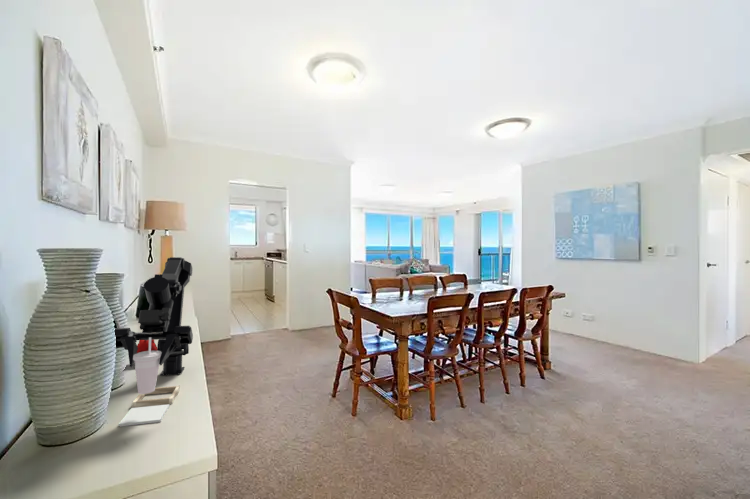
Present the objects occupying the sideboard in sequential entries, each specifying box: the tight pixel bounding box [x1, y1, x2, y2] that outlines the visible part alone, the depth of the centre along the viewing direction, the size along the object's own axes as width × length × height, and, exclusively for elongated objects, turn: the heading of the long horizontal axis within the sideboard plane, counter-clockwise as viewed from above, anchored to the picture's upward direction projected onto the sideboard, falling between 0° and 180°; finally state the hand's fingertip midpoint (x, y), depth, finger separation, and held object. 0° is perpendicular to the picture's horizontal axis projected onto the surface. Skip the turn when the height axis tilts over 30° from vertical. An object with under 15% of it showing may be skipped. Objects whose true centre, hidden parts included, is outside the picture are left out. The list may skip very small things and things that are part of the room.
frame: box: [131, 385, 181, 408], centre depth 100 cm, size 10×10×2 cm
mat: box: [117, 404, 171, 427], centre depth 89 cm, size 9×9×1 cm
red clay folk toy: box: [137, 340, 158, 353], centre depth 131 cm, size 8×7×15 cm
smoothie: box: [133, 337, 162, 395], centre depth 90 cm, size 6×6×14 cm
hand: (145, 365), depth 88 cm, fingers closed on smoothie, 6 cm apart
